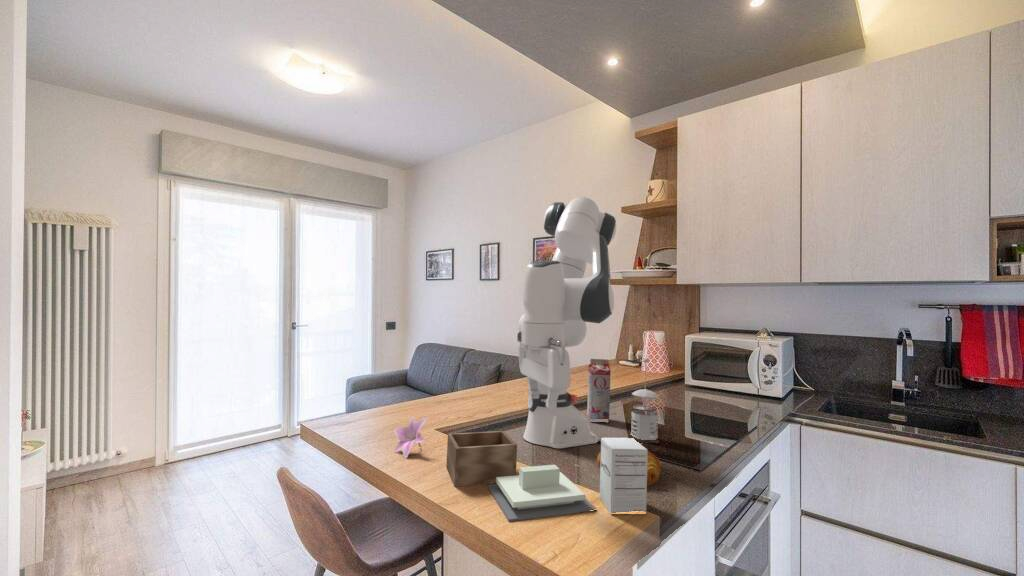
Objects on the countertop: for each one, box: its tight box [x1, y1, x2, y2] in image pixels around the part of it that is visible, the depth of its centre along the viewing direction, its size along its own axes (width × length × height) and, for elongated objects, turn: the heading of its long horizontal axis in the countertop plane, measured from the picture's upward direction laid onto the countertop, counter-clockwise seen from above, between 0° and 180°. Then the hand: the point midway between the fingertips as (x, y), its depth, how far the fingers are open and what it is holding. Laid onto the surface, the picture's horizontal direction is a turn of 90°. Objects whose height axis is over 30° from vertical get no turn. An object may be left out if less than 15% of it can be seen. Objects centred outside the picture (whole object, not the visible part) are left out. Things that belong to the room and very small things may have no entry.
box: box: [445, 430, 518, 487], centre depth 97 cm, size 14×11×8 cm
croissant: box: [596, 450, 662, 487], centre depth 101 cm, size 14×16×8 cm
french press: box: [630, 358, 660, 440], centre depth 131 cm, size 10×12×25 cm
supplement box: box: [599, 437, 649, 513], centre depth 84 cm, size 7×7×13 cm
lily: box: [393, 416, 428, 459], centre depth 111 cm, size 11×11×9 cm
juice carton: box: [586, 358, 611, 420], centre depth 151 cm, size 7×7×22 cm
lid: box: [496, 464, 586, 510], centre depth 86 cm, size 15×12×6 cm
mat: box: [487, 484, 598, 522], centre depth 86 cm, size 18×15×1 cm
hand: (542, 403), depth 87 cm, fingers open, 8 cm apart
